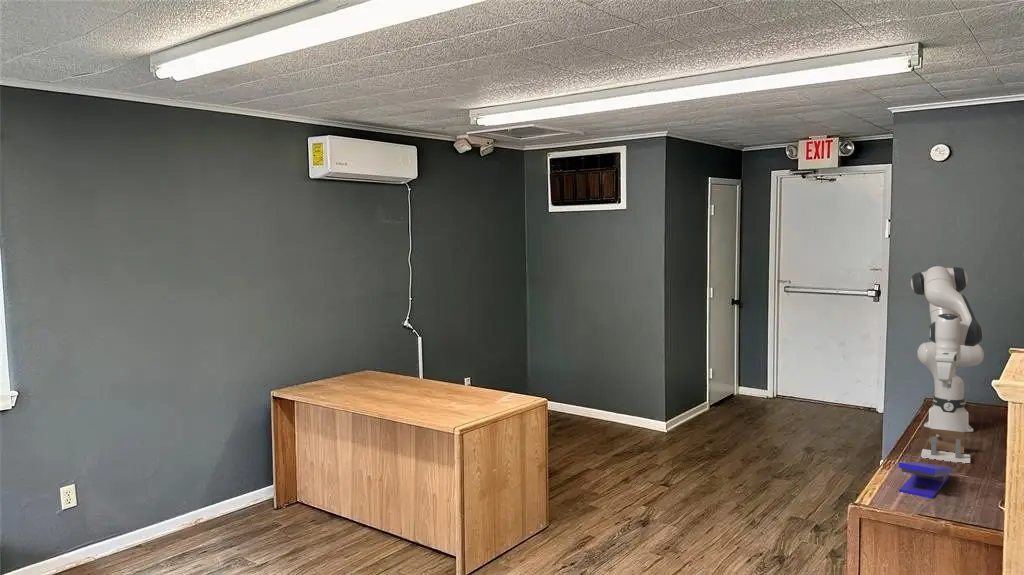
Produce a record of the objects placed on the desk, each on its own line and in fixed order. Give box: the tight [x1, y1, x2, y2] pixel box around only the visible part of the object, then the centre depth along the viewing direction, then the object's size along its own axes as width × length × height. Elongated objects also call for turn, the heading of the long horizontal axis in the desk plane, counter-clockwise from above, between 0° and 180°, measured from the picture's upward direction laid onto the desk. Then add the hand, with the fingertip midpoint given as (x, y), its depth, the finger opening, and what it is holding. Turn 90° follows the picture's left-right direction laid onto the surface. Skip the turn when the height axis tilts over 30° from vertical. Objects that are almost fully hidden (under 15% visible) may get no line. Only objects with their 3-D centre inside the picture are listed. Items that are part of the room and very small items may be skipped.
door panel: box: [928, 428, 966, 454], centre depth 290 cm, size 4×12×8 cm, turn 58°
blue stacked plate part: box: [898, 461, 953, 499], centre depth 251 cm, size 12×28×10 cm, turn 139°
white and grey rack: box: [920, 437, 971, 464], centre depth 280 cm, size 8×16×7 cm, turn 58°
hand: (947, 389), depth 289 cm, fingers open, 8 cm apart
